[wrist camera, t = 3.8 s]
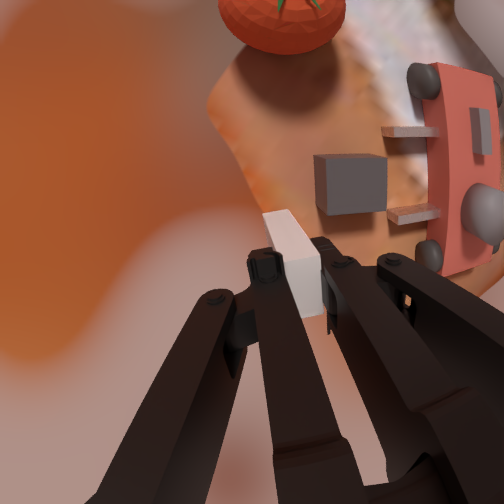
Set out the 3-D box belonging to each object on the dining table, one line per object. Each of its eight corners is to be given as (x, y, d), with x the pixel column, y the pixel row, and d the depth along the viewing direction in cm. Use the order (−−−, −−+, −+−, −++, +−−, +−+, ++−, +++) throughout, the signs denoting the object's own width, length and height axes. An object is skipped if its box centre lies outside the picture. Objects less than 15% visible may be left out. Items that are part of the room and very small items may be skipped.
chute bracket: (381, 126, 24) (393, 127, 22) (425, 126, 24) (438, 127, 22) (387, 218, 28) (398, 225, 26) (427, 211, 28) (440, 217, 26)
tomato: (278, -30, 17) (296, -83, 8) (346, 34, 20) (394, 0, 11) (198, 17, 19) (181, -33, 10) (269, 85, 22) (289, 59, 13)
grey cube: (313, 154, 26) (325, 158, 22) (368, 153, 26) (387, 157, 22) (315, 204, 28) (327, 215, 24) (368, 200, 28) (386, 210, 24)
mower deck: (404, 65, 21) (450, 54, 14) (479, 79, 21) (522, 79, 14) (414, 265, 31) (449, 299, 24) (480, 247, 31) (515, 271, 23)
